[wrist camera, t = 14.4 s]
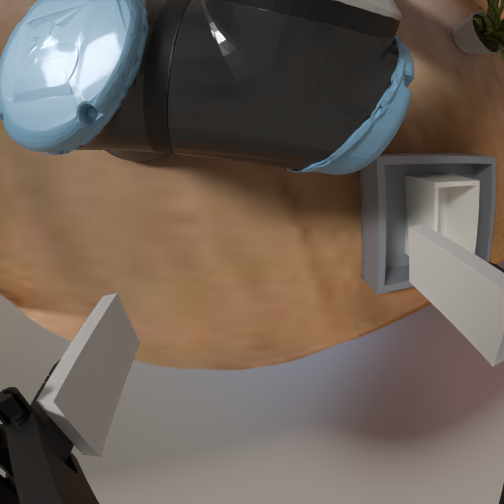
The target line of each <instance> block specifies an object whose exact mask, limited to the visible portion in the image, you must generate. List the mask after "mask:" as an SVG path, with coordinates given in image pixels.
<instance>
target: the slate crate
mask: <svg viewBox="0 0 504 504" xmlns="http://www.w3.org/2000/svg"><path fill="white" fill-rule="evenodd" d="M444 173H449V174H454V175H458V176H463V177H467V178H471V179H475V180H479V181H480V191H479V214H478V228H477V239H476V248H475V255H477V256H478V257H480V258H481V259H483V260H485V261H488V262H490V255H491V247H492V239H493V230H494V218H495V203H496V157H493V156H486V155H479V154H470V153H384V154H380V155H379V156H378V157H377V158H376V159H375V160H374V161H373V162H371V163H370V164H369V165H367V166H366V167H364V168H362V169H360V170H359V181H360V200H361V234H362V273H361V277H362V278H363V279H364V280H365V281H366V283H367V284H368V285H369V286H370V287H371V288H372V289H373V290H374V291H375V293H376V294H381V293H385V292H390V291H395V290H400V289H404V288H409V287H413V285H412V284H411V283H410V282H409V256H408V255H407V254H405V253H404V252H405V220H406V198H405V175H419V174H444Z"/></svg>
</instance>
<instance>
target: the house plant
mask: <svg viewBox="0 0 504 504" xmlns="http://www.w3.org/2000/svg"><path fill="white" fill-rule="evenodd" d="M487 2H488V11H487V15H486V14H485V12H484V10H483V9H482V8H481V7H480V6H479V8H480V10H481V11H482V12H474V13H472V14H471V15H470V16H468V17H467V18H465V19H464V20H463V21H461V22H460V23H459V24H457V25H456V26H455V27H454V28H453V30H452V35H453V39H454V41H455V43H456V45H457V46H458V47H459V49H461V50H462V51H463V52H465V53H467V54H499V53H500V52H501V57H500V59H504V50H503V48H504V19H503V20H502V21H501V18H500V16H501V14H502V12H503V9H504V0H501V5H500V8H499V7H498V3H499V0H487ZM502 23H503V24H502ZM501 24H502V25H501ZM502 47H503V48H502ZM498 60H499V59H498Z"/></svg>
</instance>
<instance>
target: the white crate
mask: <svg viewBox="0 0 504 504" xmlns="http://www.w3.org/2000/svg"><path fill="white" fill-rule="evenodd" d="M479 191H480V181H479V180H475V179H471V178H467V177H463V176H458V175H454V174H449V173H444V174H419V175H405V198H406V220H405V252H404V253H405V254H407V255H408V256H409V227H411V226H415V225H419V224H423V225H425V226H427V227H429V228H431V229H432V230H434V231H436V232H438V233H440V234H441V235H443V236H445V237H446V238H448V239H450V240H452V241H453V242H455V243H457V244H458V245H460V246H462V247H463V248H465V249H467V250H468V251H470V252H472V253H473V254H475V248H476V239H477V228H478V214H479Z"/></svg>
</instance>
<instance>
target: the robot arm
mask: <svg viewBox="0 0 504 504" xmlns="http://www.w3.org/2000/svg"><path fill="white" fill-rule="evenodd" d="M401 17H402V15H401V13H400V11H399V9H398V7H397V5H396V3H395V2H394V0H38V1H37V2H36V3H35V4H34V5H33V6H32V7H31V8H30V9H29V11H28V13H27V14H26V16H25V17H24V18H23V19H22V20H21V21H20V22H19V23H18V24H17V26H16V27H15V29H14V30H13V32H12V34H11V36H10V38H9V39H8V41H7V44H6V46H5V48H4V51H3V53H2V56H1V59H0V118H1V119H2V120H3V123H4V127H5V130H6V132H7V133H8V134H9V136H10V137H11V138H12V139H13V140H14V141H15V142H16V143H18V144H19V145H21V146H23V147H25V148H27V149H29V150H33V151H39V152H44V153H48V154H51V155H61V154H66V153H69V152H71V151H73V150H105V151H107V152H108V153H110V154H111V155H113V156H115V157H118V158H121V159H124V160H129V161H149V160H155V159H159V158H162V157H165V156H168V155H170V154H176V155H187V156H197V157H207V158H216V159H225V160H233V161H241V162H249V163H256V164H263V165H270V166H277V167H283V168H285V169H286V170H288V171H291V172H295V173H299V172H303V173H306V172H319V173H326V174H333V175H343V174H350V173H353V172H356V171H358V170H360V169H362V168H364V167H366V166H367V165H369V164H370V163H371V162H373V161H374V160H375V159H376V158H377V157H378V156H379V155H380V154H381V153H382V152H383V151H384V150H385V149H386V147H387V146H388V145H389V144H390V142H391V141H392V139H393V138H394V136H395V135H396V133H397V131H398V130H399V128H400V126H401V124H402V122H403V120H404V118H405V115H406V112H407V110H408V107H409V104H410V100H411V96H412V92H411V90H410V89H409V88H408V86H409V84H410V83H411V81H412V80H413V79H414V65H413V60H412V56H411V54H410V52H409V49H408V48H407V46H406V45H405V44H404V43H403V42H402V41H401V40H400V38H399V37H398V36H397V35H395V34H396V31H397V29H398V26H399V23H400V20H401ZM409 282H410V283H411V284H412V285H413V286H414V287H415V288H416V289H417V290H418V291H420V292H421V293H422V294H423V295H424V296H425V297H426V298H427V299H428V300H429V301H430V302H431V303H432V304H433V305H434V306H435V307H436V308H437V309H438V310H439V311H440V312H441V313H443V315H444V316H445V317H446V318H447V319H448V320H449V321H450V322H451V323H452V324H453V325H454V326H455V327H456V328H457V329H458V330H459V331H460V332H461V333H462V334H463V335H464V336H465V337H466V338H467V339H468V340H469V341H470V343H472V345H474V347H475V348H476V349H477V350H478V351H479V352H480V353H481V354H482V355H483V357H484V358H485V359H486V360H487V361H488V362H489V363H490V364H491V365H492V366H493V367H494V366H495V365H497V364H499V363H500V362H502V361H504V269H502V268H501V267H499V266H498V265H496V264H494V263H491V262H488V261H485V260H483V259H481V258H480V257H478V256H477V255H475V254H473V253H472V252H470V251H468V250H467V249H465V248H463V247H462V246H460V245H458V244H457V243H455V242H453V241H452V240H450V239H448V238H446V237H445V236H443V235H441V234H440V233H438V232H436V231H434V230H432V229H431V228H429V227H427V226H425V225H423V224H419V225H415V226H411V227H409ZM139 344H140V342H139V340H138V338H137V336H136V333H135V331H134V329H133V327H132V325H131V323H130V321H129V319H128V316H127V314H126V312H125V310H124V307H123V305H122V303H121V300H120V298H119V296H118V293H115V294H111V295H106V296H103V297H102V299H101V300H100V301H99V303H98V304H97V306H96V307H95V309H94V310H93V311H92V313H91V314H90V316H89V317H88V319H87V320H86V322H85V323H84V325H83V326H82V328H81V329H80V331H79V332H78V334H77V335H76V337H75V338H74V340H73V341H72V343H71V344H70V346H69V347H68V349H67V350H66V352H65V354H64V355H63V357H62V358H61V359H60V360H59V361H58V362H57V363H56V364H55V365H54V366H53V368H52V370H51V371H50V373H49V376H47V378H46V379H45V381H44V382H45V383H43V384H42V386H41V388H40V389H39V391H38V393H37V394H36V396H35V398H34V400H33V402H32V403H31V405H29V404H28V402H27V401H26V400H25V398H24V397H23V396H22V394H21V393H20V392H19V390H18V389H17V388H15V387H9V388H6V389H4V390H2V391H1V392H0V420H1V422H2V423H3V424H0V468H1V469H2V470H4V471H5V472H6V477H5V478H4V477H2V475H0V504H99V502H98V501H97V499H96V497H95V495H94V493H93V491H92V490H91V488H90V486H89V484H88V482H87V480H86V478H85V476H84V474H83V471H82V469H81V468H80V465H79V463H78V461H77V458H76V457H75V456H74V455H73V454H72V453H71V451H72V448H73V445H74V446H75V447H76V448H77V449H78V450H79V451H80V452H81V453H82V454H83V455H90V456H101V454H102V450H103V447H104V444H105V441H106V437H107V434H108V431H109V428H110V425H111V422H112V419H113V416H114V413H115V409H116V407H117V404H118V401H119V398H120V395H121V392H122V390H123V387H124V384H125V381H126V378H127V376H128V373H129V370H130V368H131V365H132V362H133V360H134V357H135V354H136V352H137V349H138V346H139ZM499 504H504V485H503V490H502V494H501V498H500V502H499Z"/></svg>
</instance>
